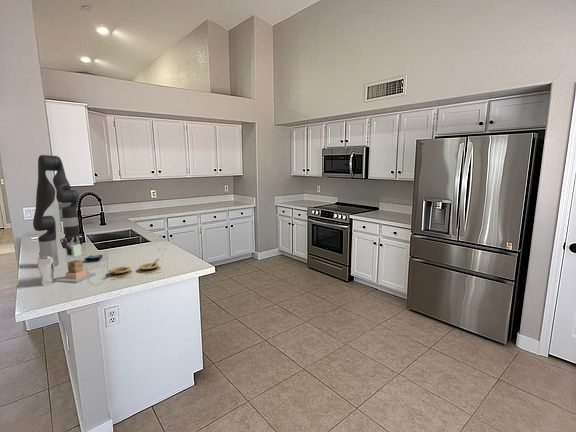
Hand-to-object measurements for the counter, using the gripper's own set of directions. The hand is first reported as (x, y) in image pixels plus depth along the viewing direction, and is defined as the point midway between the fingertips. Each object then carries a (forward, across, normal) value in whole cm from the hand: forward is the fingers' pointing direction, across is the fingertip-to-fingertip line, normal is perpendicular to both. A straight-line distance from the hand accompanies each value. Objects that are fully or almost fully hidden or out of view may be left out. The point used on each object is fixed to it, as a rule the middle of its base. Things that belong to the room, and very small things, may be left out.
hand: (74, 253), depth 180 cm
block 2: (+11, 0, 0) cm, 11 cm away
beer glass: (+15, +11, -8) cm, 20 cm away
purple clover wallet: (+16, -30, -16) cm, 37 cm away
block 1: (+1, 0, 0) cm, 1 cm away
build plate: (+15, 0, 0) cm, 15 cm away
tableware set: (+16, -16, +27) cm, 35 cm away
